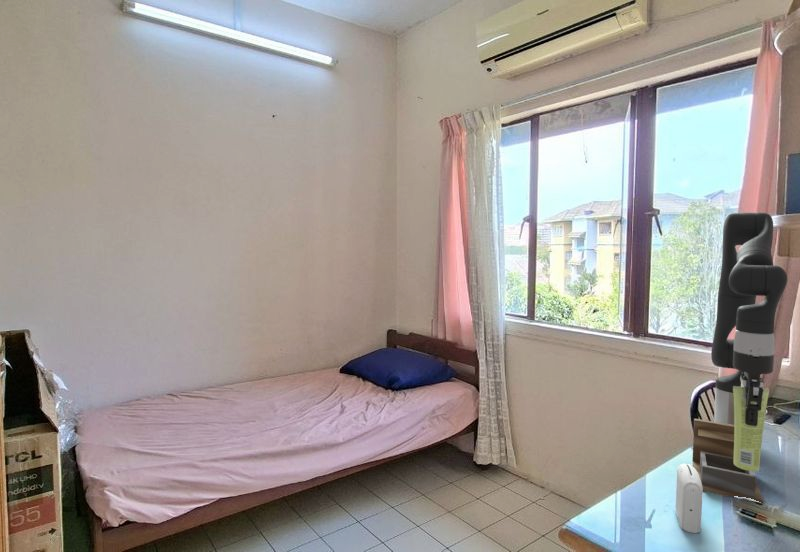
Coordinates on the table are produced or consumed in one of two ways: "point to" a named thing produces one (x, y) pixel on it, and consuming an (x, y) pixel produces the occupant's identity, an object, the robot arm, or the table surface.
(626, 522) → the table surface
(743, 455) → the tube
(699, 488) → the photo printer
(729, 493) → the wall rack
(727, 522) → the table surface
